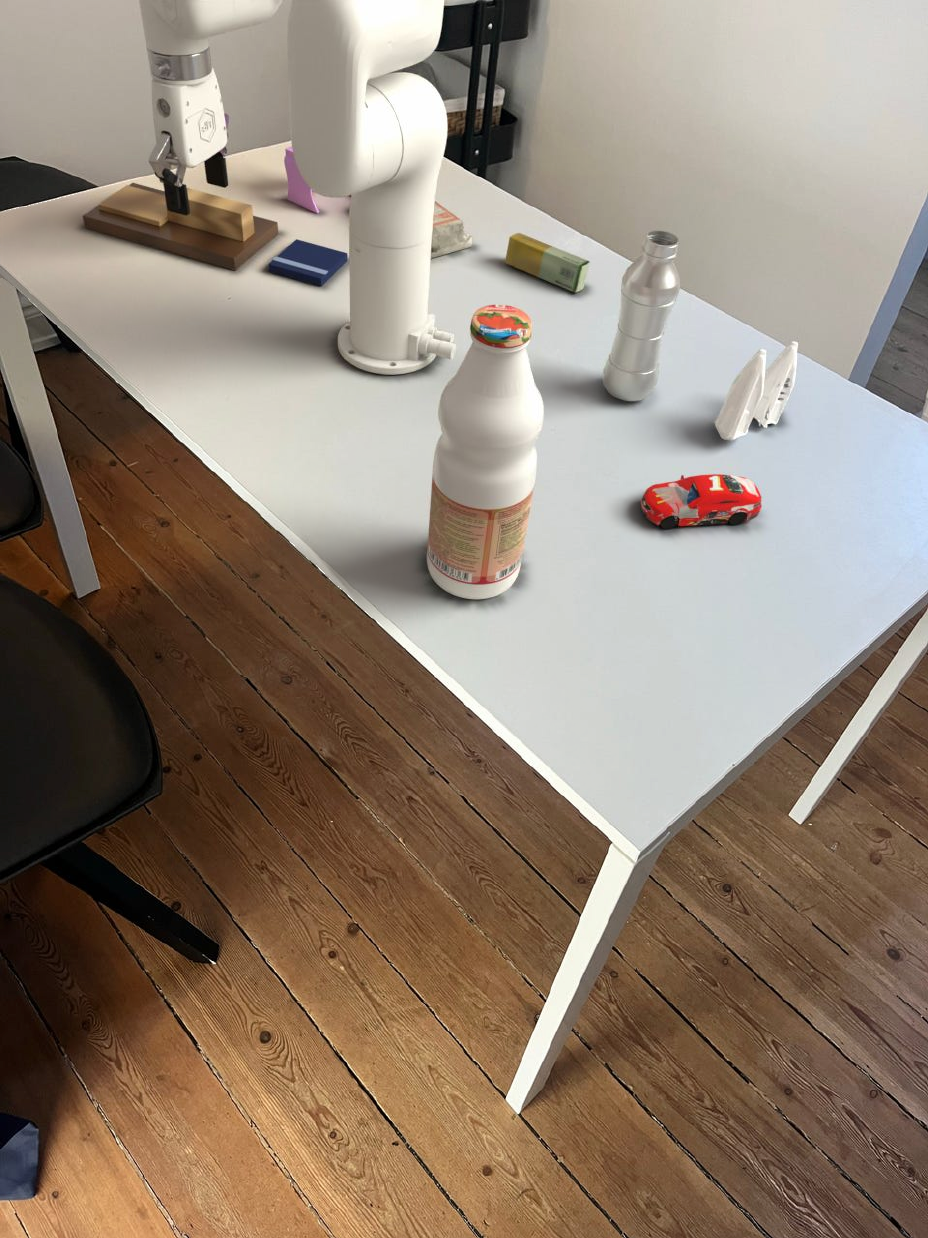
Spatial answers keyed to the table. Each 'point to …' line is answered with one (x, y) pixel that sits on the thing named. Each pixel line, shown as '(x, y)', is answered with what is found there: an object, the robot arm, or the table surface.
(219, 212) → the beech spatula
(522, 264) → the medication box
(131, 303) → the table surface
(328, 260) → the navy tea towel
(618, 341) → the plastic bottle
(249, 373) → the table surface
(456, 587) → the fruit juice
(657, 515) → the race car
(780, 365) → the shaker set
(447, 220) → the packaged product
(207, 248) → the walnut board
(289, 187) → the toy chair
